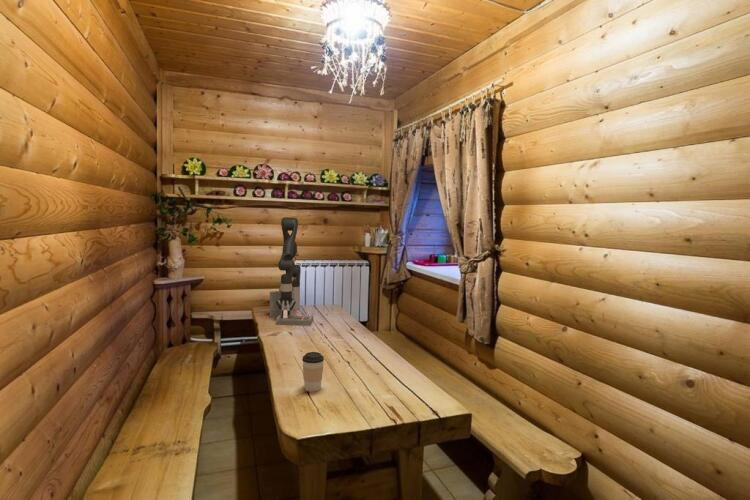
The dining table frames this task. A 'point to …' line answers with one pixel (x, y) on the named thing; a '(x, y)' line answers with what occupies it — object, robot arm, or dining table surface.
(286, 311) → the fader tab
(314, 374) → the coffee cup
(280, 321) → the console
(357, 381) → the dining table surface
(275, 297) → the grey upright panel
